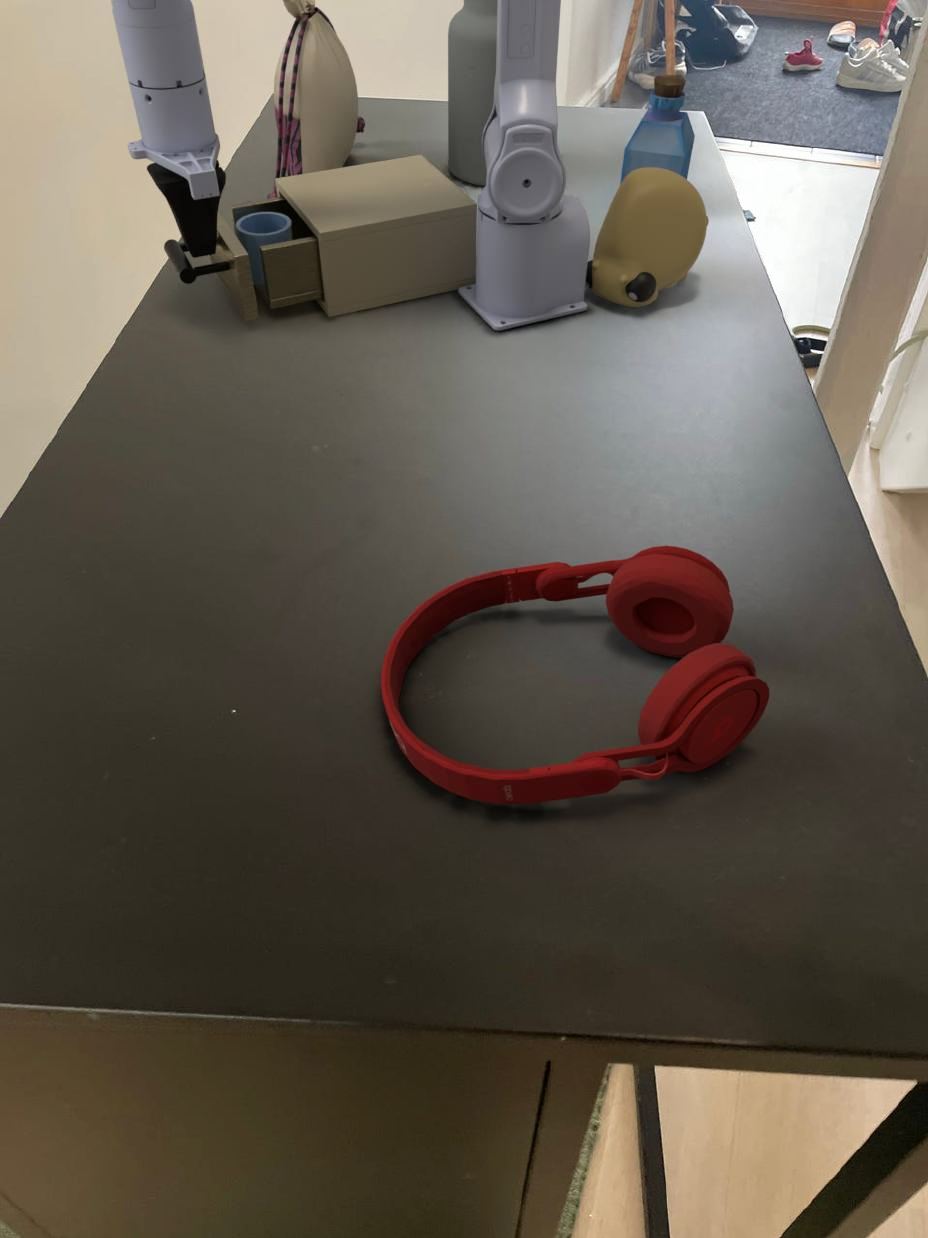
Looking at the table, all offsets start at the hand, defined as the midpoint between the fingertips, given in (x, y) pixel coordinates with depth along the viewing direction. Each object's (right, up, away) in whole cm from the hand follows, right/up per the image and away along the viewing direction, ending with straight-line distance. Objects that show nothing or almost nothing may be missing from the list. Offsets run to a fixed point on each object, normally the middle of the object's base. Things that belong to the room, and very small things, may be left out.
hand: (202, 252), depth 79 cm
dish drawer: (+6, -1, +5) cm, 7 cm away
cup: (+5, 0, +4) cm, 6 cm away
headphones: (+28, -37, -27) cm, 54 cm away
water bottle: (+26, +20, +26) cm, 42 cm away
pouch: (+7, +17, +23) cm, 29 cm away
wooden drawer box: (+15, +1, +8) cm, 17 cm away
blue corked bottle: (+43, +13, +20) cm, 49 cm away
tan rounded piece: (+39, -1, +7) cm, 40 cm away
